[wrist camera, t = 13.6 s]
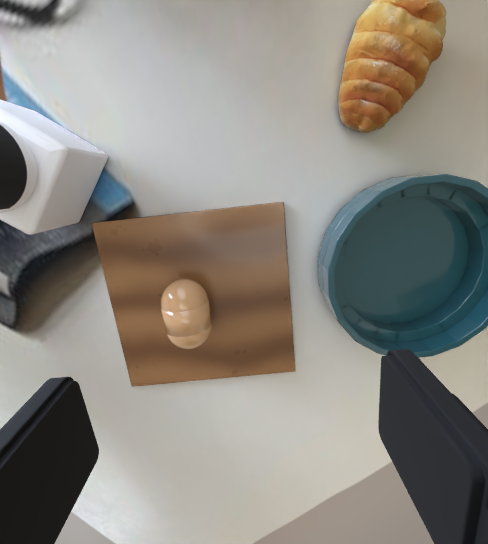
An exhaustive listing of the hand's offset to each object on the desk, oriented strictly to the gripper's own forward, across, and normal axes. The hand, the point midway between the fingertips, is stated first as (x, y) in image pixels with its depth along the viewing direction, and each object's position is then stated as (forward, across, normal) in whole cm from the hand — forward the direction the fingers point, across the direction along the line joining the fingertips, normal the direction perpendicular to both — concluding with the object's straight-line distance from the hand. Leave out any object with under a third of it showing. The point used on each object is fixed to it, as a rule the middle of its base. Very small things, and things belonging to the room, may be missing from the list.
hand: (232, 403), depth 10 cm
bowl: (+22, -15, +3) cm, 27 cm away
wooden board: (+21, +5, +5) cm, 23 cm away
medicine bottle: (+22, +16, -9) cm, 28 cm away
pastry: (+22, -13, -14) cm, 29 cm away
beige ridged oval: (+21, +5, +6) cm, 22 cm away
